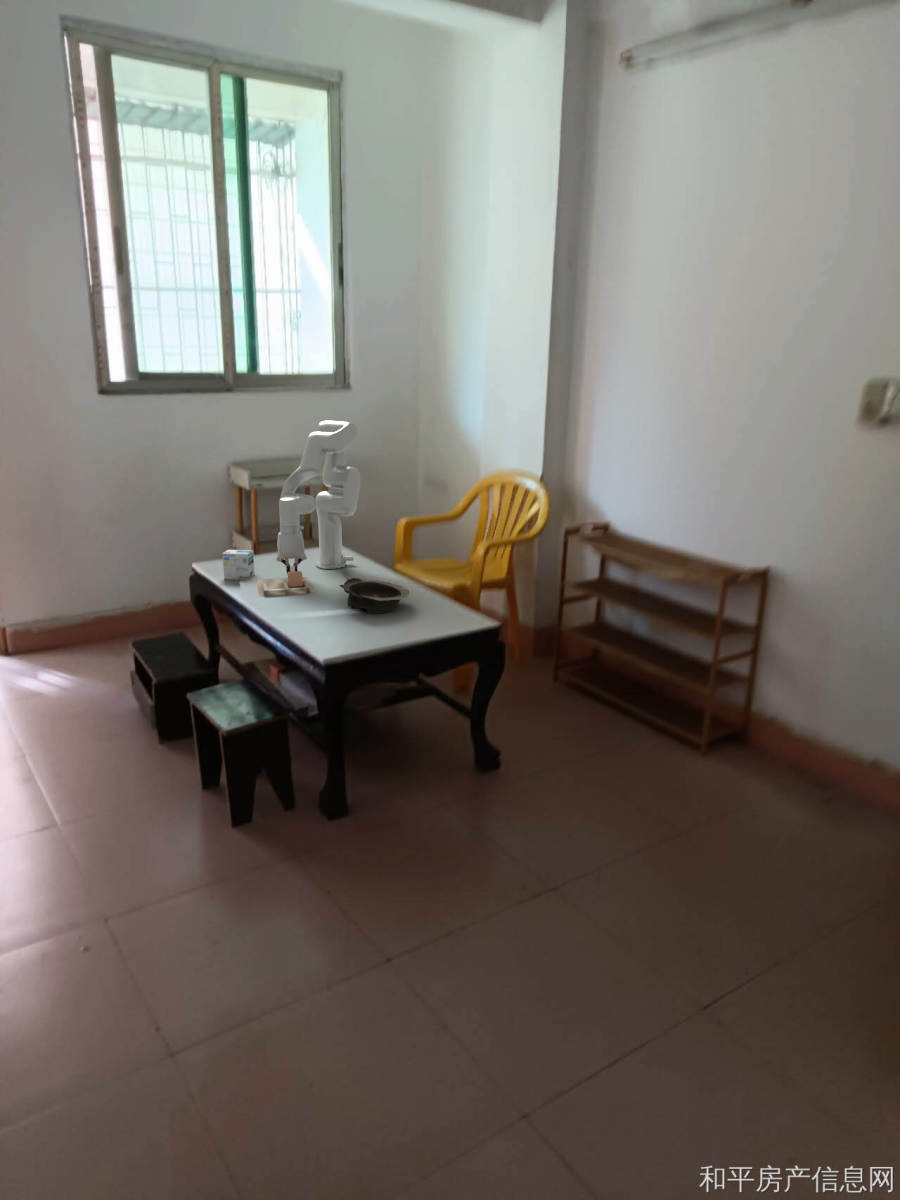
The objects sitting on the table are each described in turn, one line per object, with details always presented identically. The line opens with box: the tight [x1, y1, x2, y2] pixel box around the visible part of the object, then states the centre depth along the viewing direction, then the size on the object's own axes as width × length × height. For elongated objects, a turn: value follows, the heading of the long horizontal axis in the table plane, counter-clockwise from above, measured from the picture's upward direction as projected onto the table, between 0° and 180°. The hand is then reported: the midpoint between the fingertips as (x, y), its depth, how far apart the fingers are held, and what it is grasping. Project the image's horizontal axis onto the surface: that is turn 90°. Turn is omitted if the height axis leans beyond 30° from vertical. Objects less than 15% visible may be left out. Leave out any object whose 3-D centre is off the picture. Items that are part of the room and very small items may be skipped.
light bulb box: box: [222, 549, 256, 580], centre depth 328 cm, size 11×7×11 cm, turn 84°
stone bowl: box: [339, 577, 411, 615], centre depth 296 cm, size 25×25×9 cm
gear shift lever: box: [287, 565, 303, 587], centre depth 317 cm, size 5×13×6 cm, turn 16°
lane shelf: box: [255, 576, 315, 597], centre depth 314 cm, size 20×22×4 cm
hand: (292, 574), depth 324 cm, fingers closed on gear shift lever, 1 cm apart
